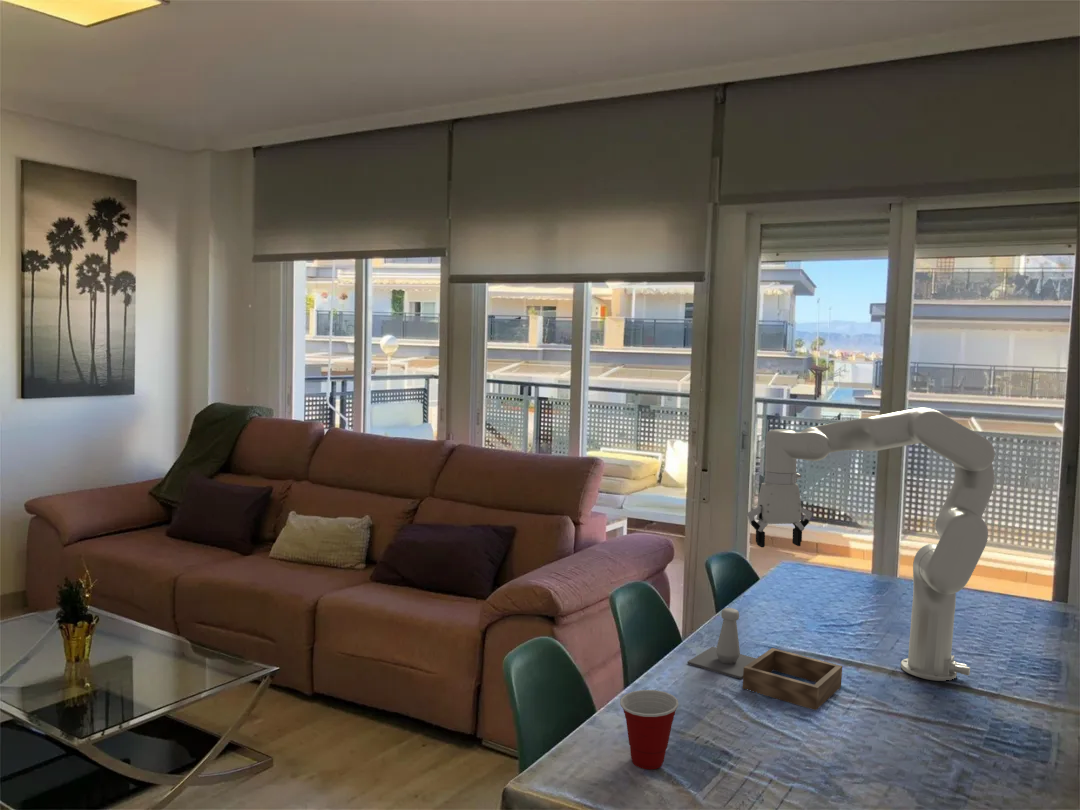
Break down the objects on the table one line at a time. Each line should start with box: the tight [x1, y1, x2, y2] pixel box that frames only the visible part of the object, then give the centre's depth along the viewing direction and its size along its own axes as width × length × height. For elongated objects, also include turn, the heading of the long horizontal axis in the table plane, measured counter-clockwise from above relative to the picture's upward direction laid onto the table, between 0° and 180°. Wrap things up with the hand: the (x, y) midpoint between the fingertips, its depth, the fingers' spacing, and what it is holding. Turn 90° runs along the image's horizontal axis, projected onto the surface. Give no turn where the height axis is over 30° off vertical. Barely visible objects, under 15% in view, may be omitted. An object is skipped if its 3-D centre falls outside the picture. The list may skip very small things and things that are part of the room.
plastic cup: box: [619, 689, 679, 771], centre depth 158 cm, size 11×11×12 cm
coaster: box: [687, 646, 758, 680], centre depth 210 cm, size 14×14×1 cm
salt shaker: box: [716, 607, 741, 664], centre depth 210 cm, size 6×6×13 cm
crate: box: [741, 647, 843, 711], centre depth 197 cm, size 17×17×5 cm
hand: (778, 545), depth 216 cm, fingers open, 9 cm apart
